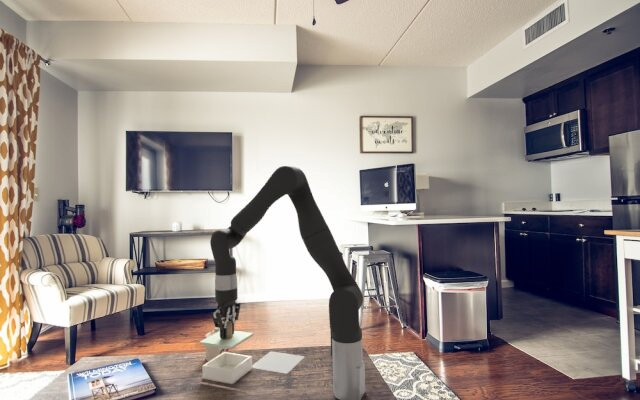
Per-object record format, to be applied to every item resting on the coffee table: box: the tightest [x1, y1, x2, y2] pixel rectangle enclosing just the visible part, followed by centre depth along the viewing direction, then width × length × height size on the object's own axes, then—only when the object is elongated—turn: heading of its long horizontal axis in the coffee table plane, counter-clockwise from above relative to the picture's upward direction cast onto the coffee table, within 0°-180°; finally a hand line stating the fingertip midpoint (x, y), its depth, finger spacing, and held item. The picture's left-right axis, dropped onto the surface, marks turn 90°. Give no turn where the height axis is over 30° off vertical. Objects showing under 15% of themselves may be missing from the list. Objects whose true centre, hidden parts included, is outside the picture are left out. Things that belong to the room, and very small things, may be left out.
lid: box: [198, 321, 254, 350], centre depth 129 cm, size 13×13×6 cm
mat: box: [252, 351, 306, 375], centre depth 138 cm, size 15×15×1 cm
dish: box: [201, 351, 254, 385], centre depth 129 cm, size 12×12×5 cm
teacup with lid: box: [204, 326, 230, 362], centre depth 145 cm, size 12×9×12 cm
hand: (227, 336), depth 129 cm, fingers closed on lid, 3 cm apart
